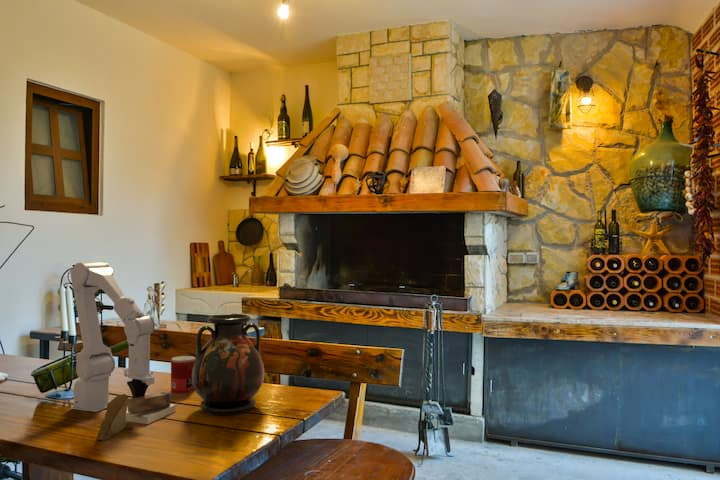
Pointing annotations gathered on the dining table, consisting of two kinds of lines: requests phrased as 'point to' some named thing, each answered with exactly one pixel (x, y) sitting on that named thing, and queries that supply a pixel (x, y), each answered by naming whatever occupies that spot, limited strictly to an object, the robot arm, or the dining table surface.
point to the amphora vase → (228, 366)
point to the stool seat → (150, 414)
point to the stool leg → (149, 402)
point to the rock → (114, 417)
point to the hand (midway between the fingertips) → (138, 405)
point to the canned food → (182, 374)
